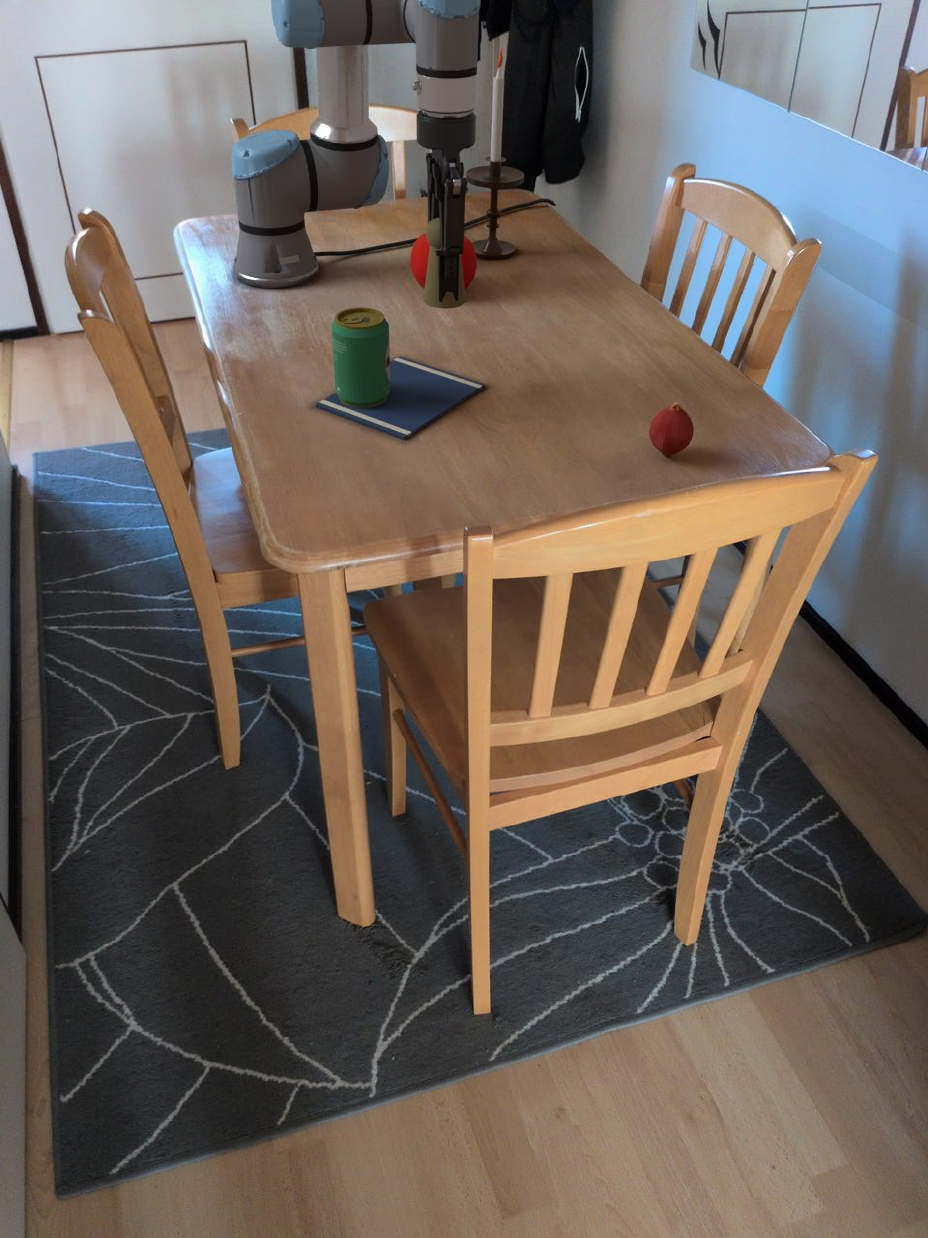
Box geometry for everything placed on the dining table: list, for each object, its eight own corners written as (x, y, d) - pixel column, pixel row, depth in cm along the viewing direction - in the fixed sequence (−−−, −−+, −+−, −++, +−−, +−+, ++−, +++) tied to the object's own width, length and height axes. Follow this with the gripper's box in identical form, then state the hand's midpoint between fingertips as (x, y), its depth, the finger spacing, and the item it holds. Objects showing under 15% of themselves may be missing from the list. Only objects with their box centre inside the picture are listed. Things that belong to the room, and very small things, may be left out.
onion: (641, 445, 137) (649, 391, 132) (682, 444, 137) (692, 391, 132) (651, 467, 132) (659, 412, 127) (693, 466, 133) (703, 412, 128)
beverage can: (394, 406, 143) (392, 326, 135) (339, 411, 141) (334, 330, 134) (386, 381, 149) (384, 303, 141) (333, 385, 147) (327, 307, 140)
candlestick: (485, 238, 200) (492, 39, 177) (530, 250, 195) (543, 47, 173) (453, 253, 193) (456, 48, 171) (499, 265, 188) (508, 56, 166)
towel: (400, 358, 156) (400, 355, 156) (484, 387, 149) (485, 383, 149) (315, 406, 143) (315, 403, 143) (404, 440, 136) (404, 436, 136)
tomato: (487, 297, 176) (489, 237, 169) (427, 307, 172) (427, 246, 165) (457, 274, 184) (459, 216, 178) (400, 283, 180) (399, 224, 173)
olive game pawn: (461, 310, 137) (462, 228, 130) (418, 305, 138) (417, 224, 131) (469, 294, 142) (472, 214, 135) (428, 290, 143) (428, 210, 136)
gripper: (404, 96, 130) (406, 274, 145) (430, 128, 117) (430, 319, 132) (460, 94, 131) (457, 270, 146) (492, 126, 119) (485, 315, 134)
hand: (444, 293), depth 139 cm, fingers closed on olive game pawn, 4 cm apart
